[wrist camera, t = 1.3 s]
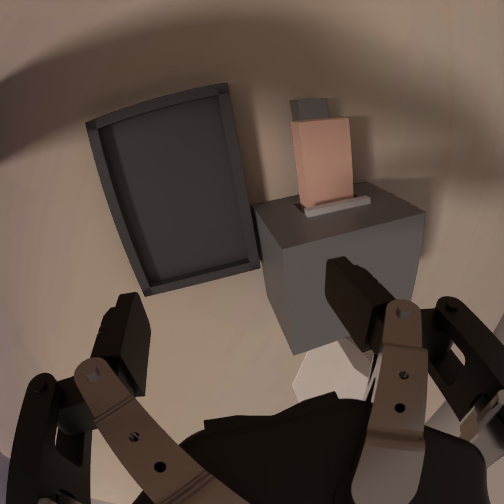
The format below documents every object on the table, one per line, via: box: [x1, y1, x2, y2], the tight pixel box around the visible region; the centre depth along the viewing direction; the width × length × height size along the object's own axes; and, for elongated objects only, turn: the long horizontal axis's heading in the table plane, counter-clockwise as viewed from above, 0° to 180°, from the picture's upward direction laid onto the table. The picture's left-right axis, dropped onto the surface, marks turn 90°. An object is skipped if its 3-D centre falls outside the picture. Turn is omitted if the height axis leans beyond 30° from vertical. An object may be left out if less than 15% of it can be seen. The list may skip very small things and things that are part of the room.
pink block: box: [290, 117, 353, 214], centre depth 26 cm, size 14×5×2 cm, turn 9°
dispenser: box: [252, 98, 426, 356], centre depth 25 cm, size 22×14×10 cm, turn 10°
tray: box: [85, 83, 260, 297], centre depth 25 cm, size 19×13×2 cm
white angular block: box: [292, 338, 371, 403], centre depth 42 cm, size 14×29×10 cm, turn 16°
